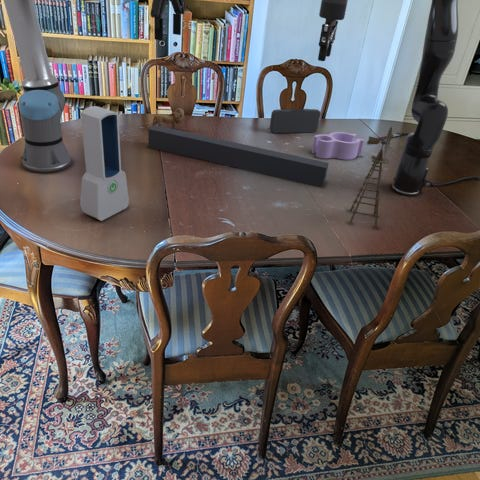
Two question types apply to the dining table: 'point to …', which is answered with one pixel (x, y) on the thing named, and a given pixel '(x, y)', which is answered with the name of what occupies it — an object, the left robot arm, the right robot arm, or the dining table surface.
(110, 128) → the electronic device
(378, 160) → the miniature windmill
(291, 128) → the handheld gaming console
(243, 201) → the dining table surface
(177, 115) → the lion figurine
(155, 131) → the bar
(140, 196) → the dining table surface
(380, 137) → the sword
